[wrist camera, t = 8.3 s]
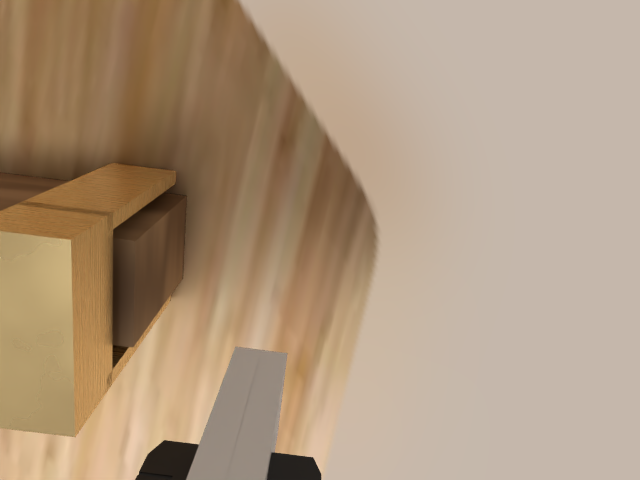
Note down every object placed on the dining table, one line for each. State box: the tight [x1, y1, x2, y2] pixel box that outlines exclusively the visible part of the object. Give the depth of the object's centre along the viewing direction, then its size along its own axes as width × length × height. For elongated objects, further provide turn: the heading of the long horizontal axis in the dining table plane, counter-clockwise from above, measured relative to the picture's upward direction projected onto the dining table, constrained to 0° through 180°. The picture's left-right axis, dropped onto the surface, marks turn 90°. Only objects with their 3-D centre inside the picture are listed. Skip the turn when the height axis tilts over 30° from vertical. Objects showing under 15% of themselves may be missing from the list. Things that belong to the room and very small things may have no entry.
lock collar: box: [0, 163, 176, 437], centre depth 21 cm, size 7×3×10 cm, turn 173°
